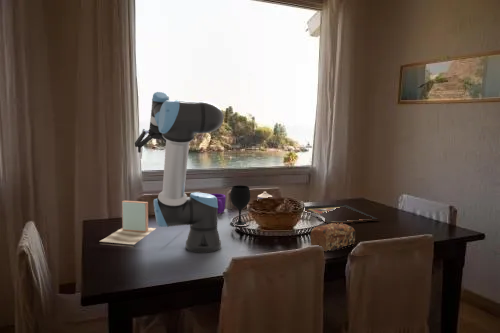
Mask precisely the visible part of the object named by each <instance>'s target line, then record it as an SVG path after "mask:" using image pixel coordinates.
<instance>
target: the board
mask: <svg viewBox="0 0 500 333" xmlns="http://www.w3.org/2000/svg"><path fill="white" fill-rule="evenodd" d="M156 229H157V228H156V227H148V231H147V232H138V231H125V230H123V228H122V227H121V228H120V229H119V228H118V229H117V230H116V231H114V232H112V233H111V234H109V235H108V236H106V237H105V238H103V239H101V240H99V242H100V243H99V245H107V246H114V247H115V246H116V247H129V248H135V247H136V246H135V245H136V244H137V243H139V242H140V241H142V239H144V238H145V237H147V236H148V235H149V234H151V233H152V232H154V231H155V230H156ZM111 243H112V244H111ZM113 243H114V244H113Z"/></svg>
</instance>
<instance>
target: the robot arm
mask: <svg viewBox="0 0 500 333" xmlns="http://www.w3.org/2000/svg"><path fill="white" fill-rule="evenodd" d="M150 112H151V113H150V120H149V129H148V130H146V129H145V128H142V131H141V133H140V135H139V136H138V137H137V139H136V140H135V142H134V146H135V148H137V153H139V159H140V160H141V159H143V158H142V157H143V147H144V146H145V145H146V144H148V142H149V141H152V140H160V139H161V140H162V141H163V142H164V144H165V151H164V152H165V154H164V164H163V177H162V179H163V180H162V191H160V192H159V193H158V195H157V198H154V199H153V210H154V215H155V216H154V218H155V221H156V222H155V223H156V225H157V226H158V227H159V228H170V227H179V226H189V232H188V234H187V239H186V241H185V249H186V250H188V251H190V252H193V253H199V254H202V253H212V252H217V251H218V250H220V249H221V248H222V240H221V239H220V234H219V231H218V215H219V214H218V202H217V198H216V197H215V196H214V195H211V194H212V193H206V192H196V191H195V192H191V193H190V194H189V196H188V195H187V194H186V192H185V186H186V178H187V169H188V168H187V167H188V158H189V149H190V143H192V141H194V139H195V134H208V133H212V132H215V131H217V130H218V129H220V128H221V126H222V125H223V123H224V116H225V115H224V113H223V111H222V109H221V108H220V107H219V106H218V105H216V104H215V103H212V102H209V101H202V100H201V101H196V100H195V101H193V100H178V99H174V100H170V97H169V94H167V93H166V92H164V91H156V92H154V93H153V95H152V99H151V110H150ZM145 136H146V137H145Z"/></svg>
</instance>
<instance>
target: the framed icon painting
mask: <svg viewBox="0 0 500 333" xmlns="http://www.w3.org/2000/svg"><path fill="white" fill-rule="evenodd" d="M304 206H305V205H304ZM340 207H346V208H348V209H351V210H353V211H356V212H359V213H361V214H364V215H366V216H370V217H372V219H378V218H377V217H374V216H372V215H370V214H368V213H366V212H363V211H361V210H359V209H357V208H354V207H351V206H350V205H347V204H326V205H324V204H323V205H307V206H305V211H307V212H311V213H315V214H316V213H318V214H319V215H320V214H322V213H324V212H326V213H327V211H328V212H329V211H333V210H335V209H336V208H340ZM305 211H304V212H305ZM372 219H359V220H347V221H328V220H326V219H325V222H327V223H329V224H331V223H343V222H353V221H363V220H372ZM325 222H324V223H325Z"/></svg>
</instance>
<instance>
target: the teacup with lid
mask: <svg viewBox="0 0 500 333" xmlns="http://www.w3.org/2000/svg"><path fill="white" fill-rule="evenodd" d="M268 197H272V198H273V195H271V194H269V193H267V191H263V193H261V194H258V195H257V200H258V199H263V198H268Z"/></svg>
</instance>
